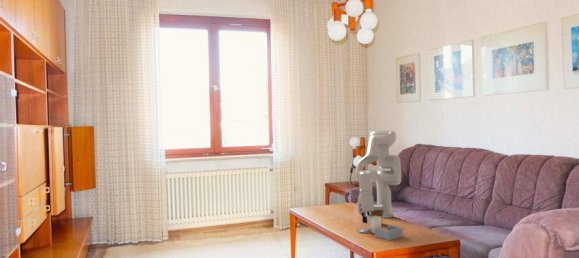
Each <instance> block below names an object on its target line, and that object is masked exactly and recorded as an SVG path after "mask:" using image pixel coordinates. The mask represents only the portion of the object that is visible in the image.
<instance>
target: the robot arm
mask: <svg viewBox="0 0 579 258" xmlns="http://www.w3.org/2000/svg"><path fill="white" fill-rule="evenodd" d="M396 140H397V135H396V132H395V131H394V130H374V131H373V130H372V131H370V133H369V138H368V141H367V148H366V153H365V155H364V156H363V157H362V158H361V159H360V160H359V161H358V163H357V165H356V167H355V168H356V169H355V173H354V174H355V177H354V178H355V181H356V182H359V195H358V197H357V211H358V212H357V213H358V214H359V215H361V216H362V224H363V223H367V217H366V215H369V216H371V214H372V212H373V211H374V204H375V201H374V200H375V199H374V196H373V195H374V194H373V183H375V185H376V204H381V205H383V207H384V209H383V216H382V219H389V218H393V217H394V216H395V214H394V212H397V209H396V208H392V192H391V189H390V186H391V185H393V186H394V185H396V186H397V185H400V184H401V182H402V169H401V168H402V167H401V165H402V164H401V163H402V162H401V158H400V156H398V155H397V154H390V151H389V150H390V148H391V147H392V146H393V145H394V144H395V142H396ZM373 162H376V165H377V168H379V169H382V170H377V171H376V170H375V169H374V170H373V169H372V170H371V169H370V170H369V169H364V167H365V166H367V165H369V164H371V163H373ZM385 169H386V170H385ZM389 185H390V186H389Z"/></svg>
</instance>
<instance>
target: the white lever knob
mask: <svg viewBox="0 0 579 258" xmlns="http://www.w3.org/2000/svg"><path fill="white" fill-rule="evenodd" d="M366 217H367V223H363V222H362V224H364V225H366V226H369V227H370V232H371V233H370V234H375V228H381V229H382V224H383V218H382V217H381V216H369V215H367V214H366Z"/></svg>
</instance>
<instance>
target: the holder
mask: <svg viewBox="0 0 579 258" xmlns="http://www.w3.org/2000/svg"><path fill="white" fill-rule="evenodd" d="M386 227H387V229H385V228H382V227H381V228H375V233H374V235H375V237H377V238H380V239H384V240H387V241H391V240H394V239H398V238H402V237H404V236H403V234H404V233H403V227H400V226H397V225H392V224H387V226H386Z"/></svg>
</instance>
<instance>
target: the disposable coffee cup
mask: <svg viewBox="0 0 579 258" xmlns="http://www.w3.org/2000/svg"><path fill="white" fill-rule="evenodd" d="M383 209H384V207H383V205H381V204H377V203H374V211H373V212H372V214H371V216H381V217H382V216H383Z"/></svg>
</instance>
